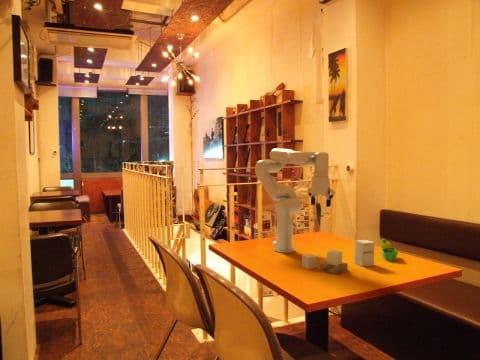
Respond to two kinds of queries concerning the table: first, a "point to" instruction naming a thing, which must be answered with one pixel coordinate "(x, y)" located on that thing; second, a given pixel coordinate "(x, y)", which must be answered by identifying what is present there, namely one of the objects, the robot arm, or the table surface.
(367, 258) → the supplement box
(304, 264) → the grey block
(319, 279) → the table surface
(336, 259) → the beige block
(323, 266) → the walnut base
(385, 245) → the fruit basket
